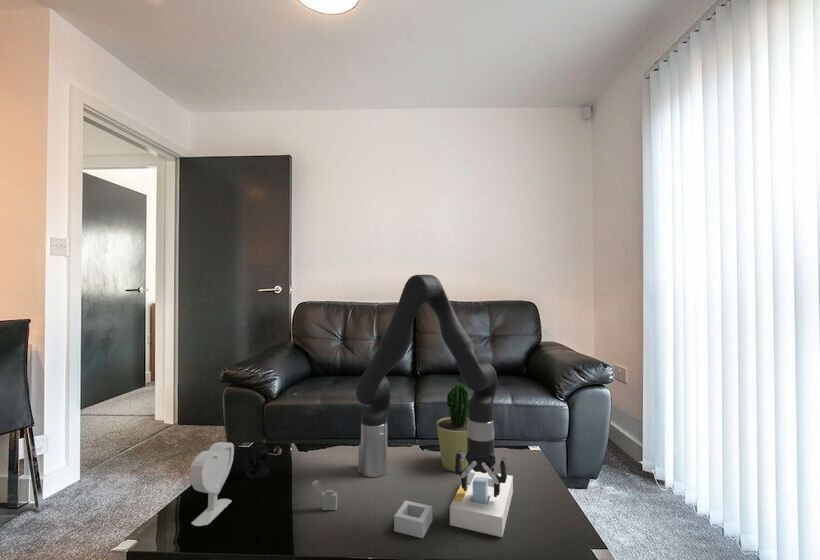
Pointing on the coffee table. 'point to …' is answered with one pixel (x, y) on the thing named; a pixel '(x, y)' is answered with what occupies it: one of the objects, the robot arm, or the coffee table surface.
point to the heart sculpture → (212, 478)
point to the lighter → (326, 497)
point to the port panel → (482, 507)
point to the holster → (413, 519)
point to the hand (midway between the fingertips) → (480, 492)
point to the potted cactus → (454, 428)
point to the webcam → (257, 462)
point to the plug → (480, 490)
